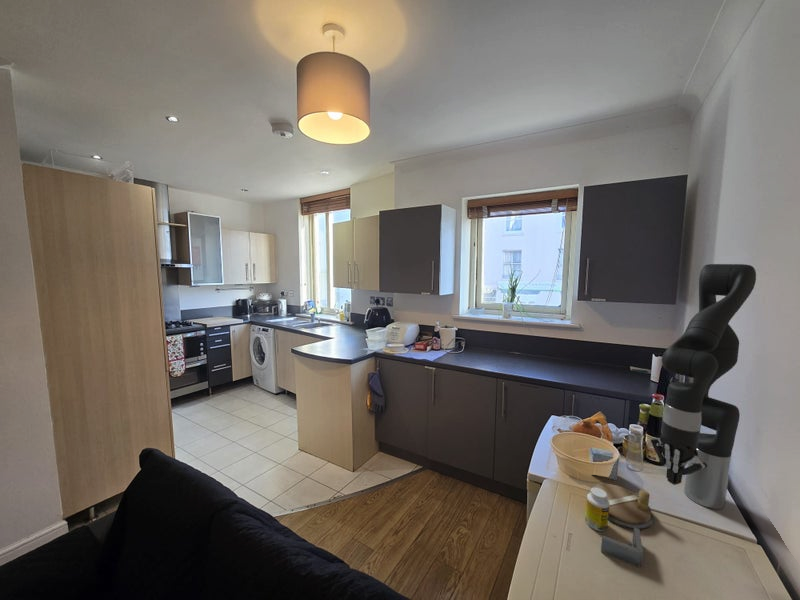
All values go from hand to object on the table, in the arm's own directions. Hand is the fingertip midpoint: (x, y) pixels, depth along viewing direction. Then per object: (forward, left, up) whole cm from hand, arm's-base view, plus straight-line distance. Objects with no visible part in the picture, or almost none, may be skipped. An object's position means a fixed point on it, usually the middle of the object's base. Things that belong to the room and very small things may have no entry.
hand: (673, 482), depth 86 cm
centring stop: (+16, +3, -16) cm, 23 cm away
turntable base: (+4, -11, -16) cm, 20 cm away
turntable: (+4, -11, -15) cm, 19 cm away
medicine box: (-4, -25, -17) cm, 30 cm away
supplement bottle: (+16, -8, -17) cm, 24 cm away
